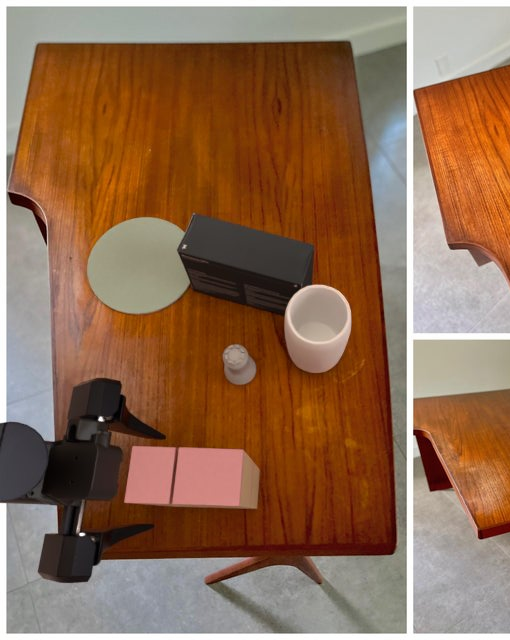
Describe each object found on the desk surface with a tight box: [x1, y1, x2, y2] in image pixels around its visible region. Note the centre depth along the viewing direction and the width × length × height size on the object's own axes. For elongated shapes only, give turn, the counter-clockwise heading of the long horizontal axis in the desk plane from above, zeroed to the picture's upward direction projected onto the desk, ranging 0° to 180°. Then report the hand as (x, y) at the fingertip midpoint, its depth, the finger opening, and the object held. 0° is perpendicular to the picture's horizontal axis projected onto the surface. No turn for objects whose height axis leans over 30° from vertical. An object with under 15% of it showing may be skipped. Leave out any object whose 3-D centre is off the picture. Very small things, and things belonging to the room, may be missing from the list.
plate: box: [86, 216, 191, 316], centre depth 80 cm, size 16×16×1 cm
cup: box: [283, 284, 352, 374], centre depth 70 cm, size 8×8×14 cm
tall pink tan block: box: [172, 446, 261, 510], centre depth 59 cm, size 6×5×22 cm
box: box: [177, 212, 316, 317], centre depth 74 cm, size 17×7×12 cm, turn 74°
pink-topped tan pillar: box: [123, 445, 209, 509], centre depth 59 cm, size 4×5×22 cm
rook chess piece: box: [222, 343, 257, 386], centre depth 71 cm, size 4×4×8 cm
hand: (158, 480), depth 58 cm, fingers open, 9 cm apart
